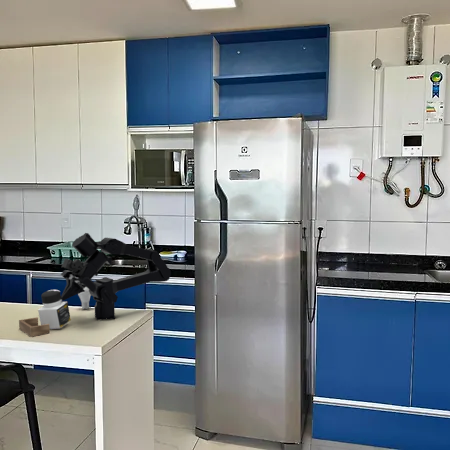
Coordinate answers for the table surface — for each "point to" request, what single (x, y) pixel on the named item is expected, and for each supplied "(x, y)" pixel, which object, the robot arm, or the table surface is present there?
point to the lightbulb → (85, 298)
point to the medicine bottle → (54, 310)
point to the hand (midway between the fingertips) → (61, 299)
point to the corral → (33, 327)
